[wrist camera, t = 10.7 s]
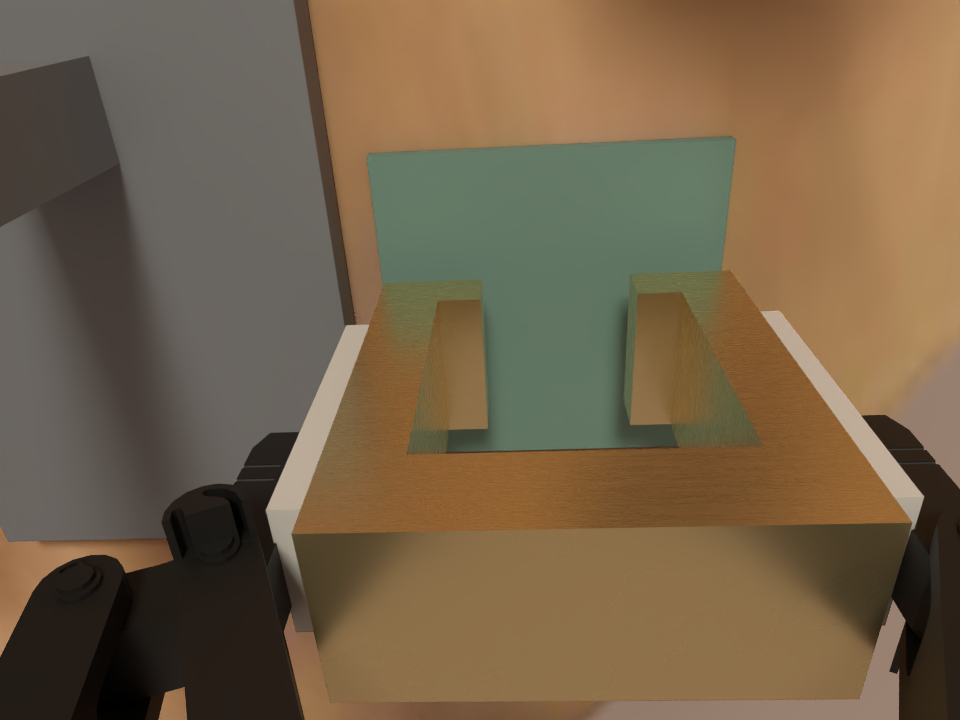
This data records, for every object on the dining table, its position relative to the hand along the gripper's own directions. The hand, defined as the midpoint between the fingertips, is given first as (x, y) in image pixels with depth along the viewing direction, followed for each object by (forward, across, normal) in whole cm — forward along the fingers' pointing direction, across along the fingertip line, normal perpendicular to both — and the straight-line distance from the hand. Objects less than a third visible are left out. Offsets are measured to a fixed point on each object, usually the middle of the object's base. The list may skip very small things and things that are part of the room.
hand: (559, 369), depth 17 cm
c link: (+2, 0, 0) cm, 2 cm away
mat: (+3, 0, 0) cm, 3 cm away
